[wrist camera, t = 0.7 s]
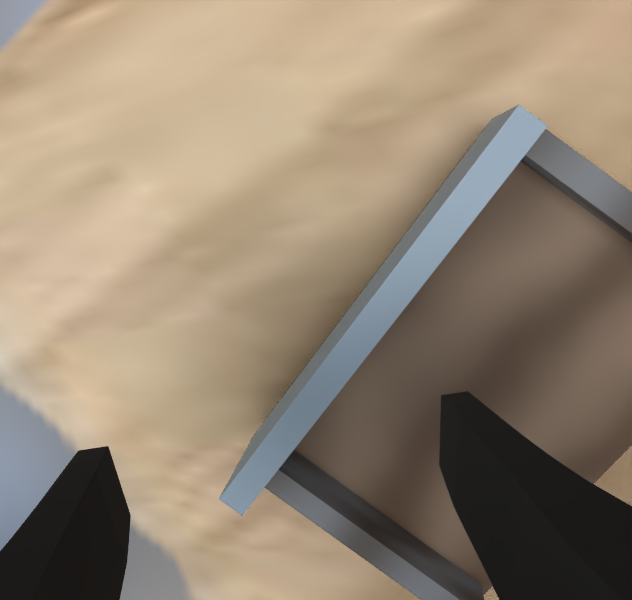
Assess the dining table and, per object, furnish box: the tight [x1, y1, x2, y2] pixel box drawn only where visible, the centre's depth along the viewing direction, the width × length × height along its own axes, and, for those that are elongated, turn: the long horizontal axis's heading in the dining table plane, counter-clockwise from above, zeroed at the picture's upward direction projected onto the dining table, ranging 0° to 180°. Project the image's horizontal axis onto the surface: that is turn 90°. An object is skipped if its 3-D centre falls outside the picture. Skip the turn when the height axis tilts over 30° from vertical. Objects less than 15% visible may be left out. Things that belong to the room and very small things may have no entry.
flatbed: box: [265, 129, 632, 600], centre depth 28 cm, size 13×20×4 cm, turn 145°
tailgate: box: [219, 105, 547, 515], centre depth 25 cm, size 1×19×6 cm, turn 145°
